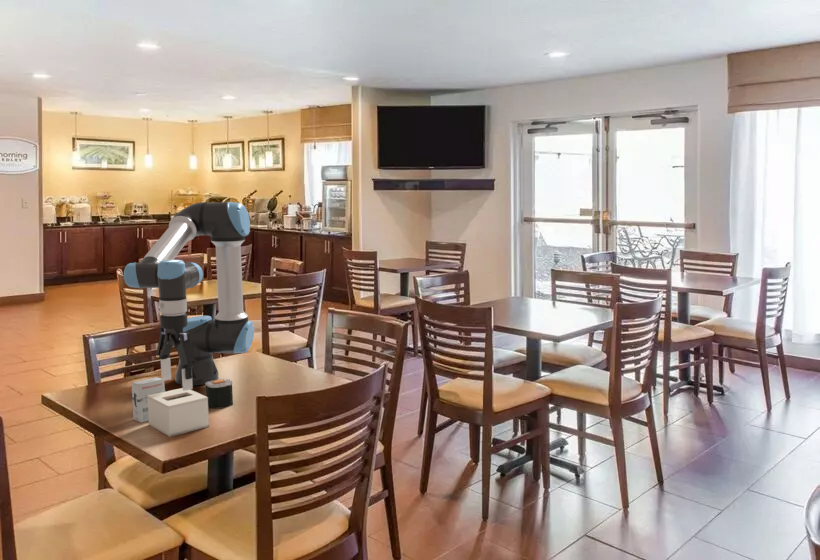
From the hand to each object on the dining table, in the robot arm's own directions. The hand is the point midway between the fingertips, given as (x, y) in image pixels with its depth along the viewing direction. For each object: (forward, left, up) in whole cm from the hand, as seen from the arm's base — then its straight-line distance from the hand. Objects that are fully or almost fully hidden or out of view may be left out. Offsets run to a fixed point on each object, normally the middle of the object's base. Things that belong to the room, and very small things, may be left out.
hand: (176, 384), depth 203 cm
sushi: (-10, +19, -13) cm, 25 cm away
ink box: (-13, -3, -13) cm, 18 cm away
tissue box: (0, 0, -12) cm, 12 cm away
